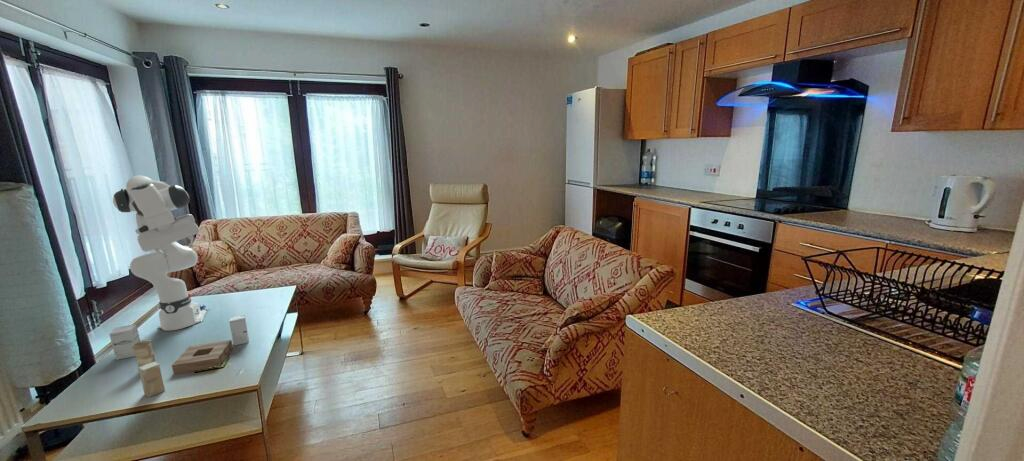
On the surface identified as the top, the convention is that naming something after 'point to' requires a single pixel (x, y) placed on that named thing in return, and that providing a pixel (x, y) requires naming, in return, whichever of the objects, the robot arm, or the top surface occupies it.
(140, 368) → the box
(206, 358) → the square hole block
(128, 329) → the supplement box
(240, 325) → the skincare box
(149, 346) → the peg
